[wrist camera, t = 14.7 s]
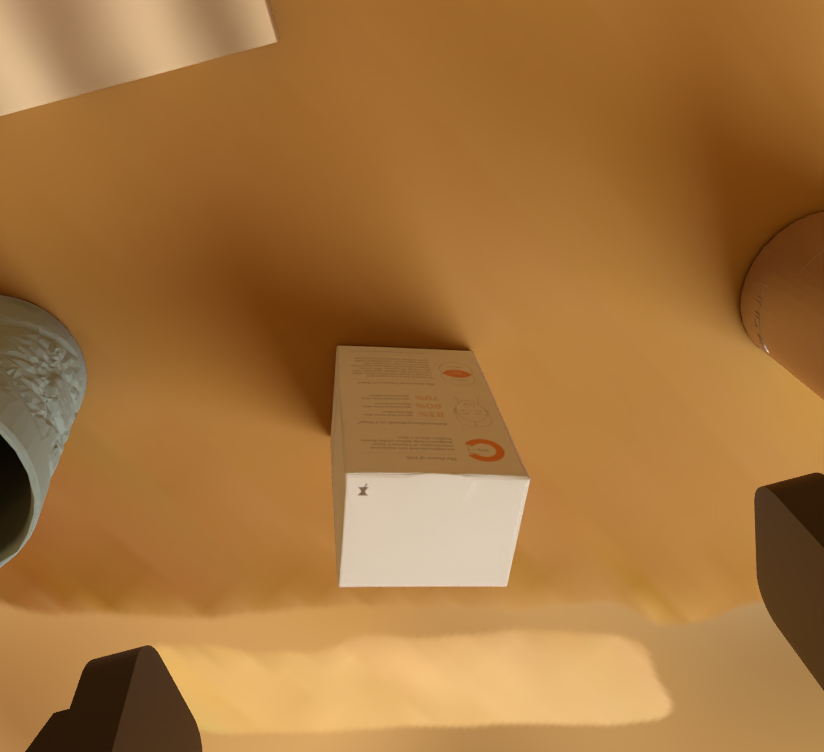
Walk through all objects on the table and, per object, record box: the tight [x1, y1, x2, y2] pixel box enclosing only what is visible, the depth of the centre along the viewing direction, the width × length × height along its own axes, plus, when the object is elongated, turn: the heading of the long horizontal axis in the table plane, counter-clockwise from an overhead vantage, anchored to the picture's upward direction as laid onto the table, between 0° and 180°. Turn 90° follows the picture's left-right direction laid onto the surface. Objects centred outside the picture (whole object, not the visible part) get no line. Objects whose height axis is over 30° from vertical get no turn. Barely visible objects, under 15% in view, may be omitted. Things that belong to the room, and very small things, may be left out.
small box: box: [331, 346, 530, 587], centre depth 39 cm, size 8×6×13 cm
